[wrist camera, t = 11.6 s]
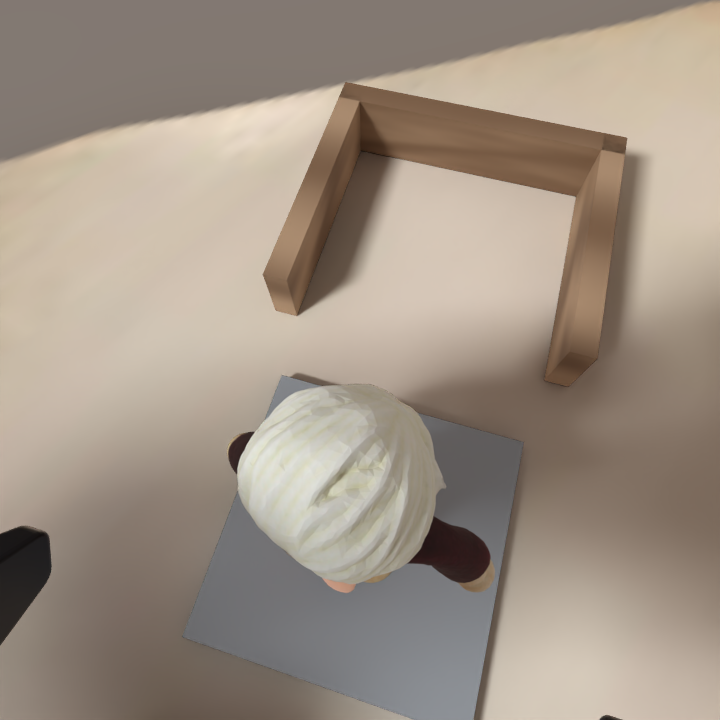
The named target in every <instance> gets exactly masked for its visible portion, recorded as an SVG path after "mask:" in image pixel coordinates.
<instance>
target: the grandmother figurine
mask: <svg viewBox="0 0 720 720" xmlns="http://www.w3.org/2000/svg"><path fill="white" fill-rule="evenodd" d="M227 456H228V459H229V462H230V464H231V467H232V468H233V470H234V471H235V472H236V474H237V483H238V492H239V495H240V498H241V501H242V504H243V505H244V507H245V509H246V510H247V512H248V513H249V514H250V515H251V517H252V518H253V520H254V521H255V523H256V524H257V526H258V528H260V529H261V530H262V531H263V532H264V533H265V534H267V536H268V537H269V538H270V539H271V540H272V541H273V542H274V543H276V544H277V545H278V546H279V547H281V548H282V549H283V550H284V551H285V552H286V553H287V554H288V555H289V556H291V557H292V558H294V559H295V560H296V561H297V562H299V563H300V564H301V565H303V566H304V567H306V568H308V569H310V570H312V571H313V572H314V573H315V574H316V575H318V576H320V577H322V579H323V580H324V581H325V582H326V583H327V585H328V586H330V587H331V588H333V589H334V590H337V591H339V592H343V593H349V592H351V591H353V590H354V588H355V585H356V584H358V583H361V582H367V583H375V582H379V581H382V580H384V579H385V578H386V577H388V576H389V574H390V573H391V572H392V571H395V570H397V569H399V568H401V567H402V566H404V565H405V564H424V565H428V566H429V565H431V566H432V567H433V568H434V569H435V570H437V571H438V572H440V573H441V574H443V575H444V576H445V577H447V578H448V579H450V580H452V581H455V582H457V583H459V585H460V586H462V587H463V588H464V589H465V590H467V591H470V592H476V593H477V592H483V591H485V590H486V589H488V588H489V587H490V585H491V584H492V582H493V580H494V577H495V568H494V565H493V562H492V561H491V555H490V552H489V549H488V547H487V546H486V544H485V542H484V541H483V540H482V539H480V538H479V537H478V536H477V535H475V534H474V533H473V532H471V531H469V530H468V529H466V528H463V527H458V526H453V525H450V524H448V523H446V522H443V521H441V520H440V519H438V518H436V517H434V516H433V515H434V511H435V506H436V495H437V493H438V492H439V490H440V489H442V488H443V489H446V487H447V486H446V484H445V483H444V480H443V476H442V474H441V471H440V469H439V467H438V464H437V462H436V460H435V456H434V448H433V443H432V439H431V435H430V433H429V431H428V429H427V428H426V426H425V425H424V423H423V422H422V419H421V417H420V416H419V415H418V413H417V412H416V411H415V410H414V409H413V408H411V407H410V406H408V405H406V404H404V403H402V402H400V401H399V400H397V399H396V398H395V397H394V396H393V395H392V394H391V393H389V392H388V391H386V390H384V389H381V388H378V387H376V386H374V385H371V384H349V385H327V386H321V387H317V388H309V389H305V390H301V391H298V392H295V393H293V394H292V395H290V396H288V397H287V398H286V399H285V400H284V401H282V402H281V403H280V404H279V405H278V406H277V407H276V408H275V409H274V410H273V412H272V413H271V415H270V416H269V417H268V418H267V419H266V420H265V421H264V422H263V423H262V424H261V425H260V426H259V428H258V429H257V430H256V432H248V433H242V434H239V435H237V436H236V437H234V438H233V439H232V440H231V441H230V443H229V445H228V448H227Z"/></svg>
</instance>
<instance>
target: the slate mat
mask: <svg viewBox="0 0 720 720" xmlns="http://www.w3.org/2000/svg"><path fill="white" fill-rule="evenodd" d="M317 387H321V386H319V385H316V384H312V383H309V382H305V381H301V380H298V379H294V378H291V377H287V376H283V375H282V376H281V379H280V381H279V384H278V386H277V389H276V392H275V394H274V397H273V400H272V402H271V405H270V407H269V410H268V413H267V415H266V418H265V420H266V419H267V418H268V417H269V416H270V415H271V413H272V412H273V410H274V409H275V408H276V407H277V406H278V405H279V404H280V403H281V402H282V401H284V400H285V399H286V398H287V397H288V396H290V395H292V394H293V393H295V392H298V391H301V390H305V389H309V388H317ZM418 415H419V416H420V417H421V419H422V422H423V423H424V425H425V426H426V428H427V429H428V431H429V433H430V435H431V439H432V443H433V448H434V456H435V460H436V462H437V464H438V467H439V469H440V471H441V474H442V476H443V480H444V483H445V484H446V486H447V487H446V489H443V488H442V489H440V490H439V492H438V493H437V495H436V506H435V511H434V515H433V516H434V517H436V518H438V519H440V520H441V521H443V522H446V523H448V524H450V525H453V526H458V527H463V528H466V529H468V530H469V531H471V532H473V533H474V534H475V535H477V536H478V537H479V538H480V539H482V540H483V541H484V542H485V544H486V546H487V547H488V549H489V552H490V555H491V561H492V562H493V565H494V568H495V577H494V580H493V582H492V584H491V585H490V587H489V588H488V589H486V590H485V591H483V592H477V593H476V592H470V591H467V590H465V589H464V588H463V587H462V586H460V585H459V583H457V582H455V581H452V580H450V579H448V578H447V577H445V576H444V575H443V574H441V573H440V572H438V571H437V570H435V569H434V568H433V567H432V566H431V565H429V566H428V565H424V564H405V565H404V566H402V567H401V568H399V569H397V570H395V571H392V572H391V573H390V574H389V576H388V577H386V578H385V579H384V580H382V581H379V582H375V583H367V582H361V583H358V584H356V585H355V588H354V590H353V591H351V592H349V593H343V592H339V591H337V590H334V589H333V588H331V587H330V586H328V585H327V583H326V582H325V581H324V580H323V579H322V577H320V576H318V575H316V574H315V573H314V572H313V571H312V570H310V569H308V568H306V567H304V566H303V565H301V564H300V563H299V562H297V561H296V560H295V559H294V558H292V557H291V556H289V555H288V554H287V553H286V552H285V551H284V550H283V549H282V548H281V547H279V546H278V545H277V544H276V543H274V542H273V541H272V540H271V539H270V538H269V537H268V536H267V534H265V533H264V532H263V531H262V530H261V529H260V528H258V526H257V524H256V523H255V521H254V520H253V518H252V517H251V515H250V514H249V513H248V512H247V510H246V509H245V507H244V505H243V504H242V501H241V498H240V495H239V492H238V491H237V494H236V497H235V499H234V502H233V505H232V507H231V510H230V512H229V515H228V518H227V520H226V523H225V526H224V528H223V531H222V533H221V536H220V539H219V541H218V544H217V547H216V549H215V552H214V554H213V557H212V560H211V562H210V565H209V568H208V570H207V573H206V575H205V578H204V581H203V583H202V586H201V589H200V591H199V594H198V596H197V599H196V602H195V604H194V607H193V610H192V612H191V615H190V617H189V620H188V623H187V625H186V628H185V631H184V633H183V636H182V637H183V638H186V639H189V640H192V641H195V642H197V643H200V644H203V645H206V646H209V647H212V648H214V649H217V650H220V651H223V652H226V653H228V654H231V655H234V656H237V657H240V658H242V659H245V660H248V661H251V662H254V663H256V664H259V665H262V666H265V667H268V668H270V669H273V670H276V671H279V672H282V673H284V674H287V675H290V676H293V677H296V678H299V679H301V680H304V681H307V682H310V683H313V684H315V685H318V686H321V687H324V688H327V689H329V690H332V691H335V692H338V693H341V694H343V695H346V696H349V697H352V698H355V699H357V700H360V701H363V702H366V703H369V704H372V705H374V706H377V707H380V708H383V709H386V710H388V711H391V712H394V713H397V714H400V715H402V716H405V717H408V718H411V719H414V720H473V719H474V714H475V708H476V703H477V697H478V692H479V686H480V681H481V675H482V670H483V664H484V659H485V653H486V648H487V642H488V637H489V631H490V626H491V620H492V615H493V609H494V604H495V598H496V593H497V587H498V582H499V576H500V571H501V565H502V560H503V554H504V548H505V543H506V537H507V532H508V526H509V521H510V515H511V510H512V504H513V499H514V493H515V488H516V482H517V477H518V471H519V466H520V460H521V455H522V449H523V444H524V442H521V441H517V440H514V439H510V438H507V437H503V436H499V435H496V434H492V433H489V432H485V431H481V430H478V429H474V428H471V427H467V426H463V425H460V424H456V423H453V422H449V421H445V420H442V419H438V418H435V417H431V416H427V415H424V414H420V413H418Z"/></svg>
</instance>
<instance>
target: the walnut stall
mask: <svg viewBox="0 0 720 720" xmlns="http://www.w3.org/2000/svg"><path fill="white" fill-rule="evenodd" d="M626 143H627V138H626V137H621V136H616V135H611V134H606V133H601V132H595V131H590V130H585V129H580V128H575V127H570V126H565V125H560V124H555V123H550V122H545V121H540V120H535V119H530V118H525V117H519V116H514V115H509V114H504V113H499V112H494V111H489V110H484V109H479V108H474V107H469V106H464V105H459V104H454V103H448V102H443V101H438V100H433V99H428V98H423V97H418V96H413V95H408V94H403V93H398V92H393V91H388V90H383V89H378V88H372V87H367V86H362V85H357V84H352V83H347V82H345V85H344V87H343V89H342V92H341V94H340V96H339V98H338V101H337V103H336V105H335V108H334V110H333V112H332V115H331V117H330V119H329V122H328V124H327V126H326V129H325V131H324V133H323V136H322V138H321V140H320V143H319V145H318V147H317V150H316V152H315V154H314V157H313V159H312V161H311V164H310V166H309V168H308V171H307V173H306V175H305V178H304V180H303V182H302V185H301V187H300V189H299V192H298V194H297V196H296V199H295V201H294V203H293V205H292V208H291V210H290V212H289V215H288V217H287V219H286V222H285V224H284V226H283V229H282V231H281V233H280V236H279V238H278V240H277V243H276V245H275V247H274V250H273V252H272V254H271V257H270V259H269V261H268V264H267V266H266V268H265V271H264V273H263V276H264V279H265V282H266V284H267V287H268V290H269V293H270V296H271V298H272V301H273V304H274V307H275V310H276V311H280V312H284V313H288V314H292V315H295V316H297V314H298V311H299V309H300V306H301V304H302V301H303V299H304V296H305V293H306V291H307V288H308V286H309V283H310V280H311V278H312V275H313V273H314V270H315V268H316V265H317V262H318V260H319V257H320V255H321V252H322V249H323V247H324V244H325V242H326V239H327V237H328V234H329V231H330V229H331V226H332V224H333V221H334V218H335V216H336V213H337V211H338V208H339V206H340V203H341V200H342V198H343V195H344V193H345V190H346V188H347V185H348V182H349V180H350V177H351V175H352V172H353V169H354V167H355V164H356V162H357V159H358V157H359V154H360V151H361V150H362V151H366V152H371V153H376V154H380V155H385V156H390V157H394V158H399V159H404V160H408V161H413V162H418V163H422V164H427V165H432V166H436V167H441V168H446V169H450V170H455V171H460V172H464V173H469V174H474V175H478V176H483V177H488V178H492V179H497V180H502V181H506V182H511V183H516V184H520V185H525V186H530V187H534V188H539V189H544V190H548V191H553V192H558V193H562V194H567V195H572V196H576V201H575V207H574V212H573V218H572V224H571V230H570V235H569V241H568V247H567V253H566V258H565V264H564V270H563V276H562V281H561V287H560V293H559V299H558V304H557V310H556V316H555V322H554V327H553V333H552V339H551V345H550V350H549V356H548V362H547V368H546V373H545V379H544V381H548V382H552V383H556V384H560V385H563V386H567V387H569V386H570V385H571V384H572V383H573V382H574V381H575V380H576V379H577V378H578V377H579V376H580V375H581V374H582V373H583V372H584V371H585V370H586V369H587V368H588V367H589V366H590V365H591V364H593V363H594V362H595V361H596V360H597V358H598V351H599V343H600V336H601V328H602V321H603V314H604V306H605V299H606V291H607V284H608V276H609V269H610V262H611V254H612V247H613V239H614V232H615V224H616V217H617V210H618V202H619V195H620V187H621V180H622V172H623V165H624V158H625V150H626Z"/></svg>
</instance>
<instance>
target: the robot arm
mask: <svg viewBox="0 0 720 720" xmlns="http://www.w3.org/2000/svg"><path fill="white" fill-rule="evenodd" d="M51 567H52V566H51V552H50V539H49V536H48V534H47V533H46V532H45V531H42V530H39V529H36V528H33V527H30V526H20V527H17V528H14V529H11V530H9V531H6V532H4V533H1V534H0V645H1V644H2V643H3V641H4V640H5V638H6V637H7V636H8V634H9V633H10V632H11V630H12V629H13V627H14V626H15V625H16V623H17V622H18V621H19V619H20V618H21V617H22V615H23V614H24V612H25V611H26V610H27V608H28V607H29V606H30V604H31V603H32V602H33V600H34V599H35V597H36V596H37V595H38V593H39V592H40V591H41V589H42V588H43V587H44V585H45V584H46V582H47V580H48V578H49V576H50V573H51ZM600 720H622V719H619V718H616V717H613V716H610V715H605V716H602V717H601V718H600Z"/></svg>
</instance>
